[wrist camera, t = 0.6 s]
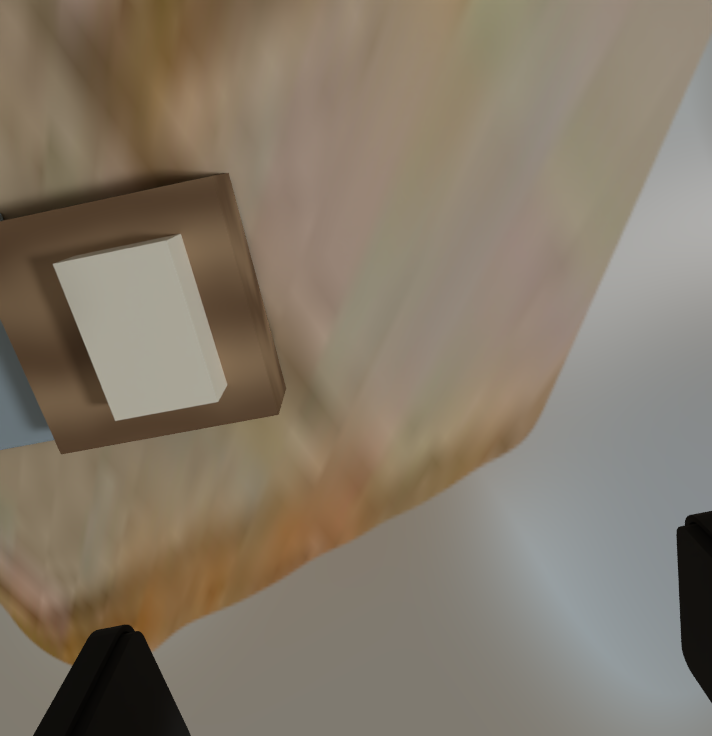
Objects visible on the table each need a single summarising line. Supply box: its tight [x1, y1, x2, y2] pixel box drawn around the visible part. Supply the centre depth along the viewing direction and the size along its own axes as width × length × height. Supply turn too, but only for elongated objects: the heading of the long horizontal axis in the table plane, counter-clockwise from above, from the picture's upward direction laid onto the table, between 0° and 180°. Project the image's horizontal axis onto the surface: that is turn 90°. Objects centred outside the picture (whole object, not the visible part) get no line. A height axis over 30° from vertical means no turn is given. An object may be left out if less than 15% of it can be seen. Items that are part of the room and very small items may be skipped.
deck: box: [0, 173, 286, 454], centre depth 34 cm, size 14×14×4 cm
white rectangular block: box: [53, 234, 227, 421], centre depth 30 cm, size 9×6×2 cm, turn 11°
